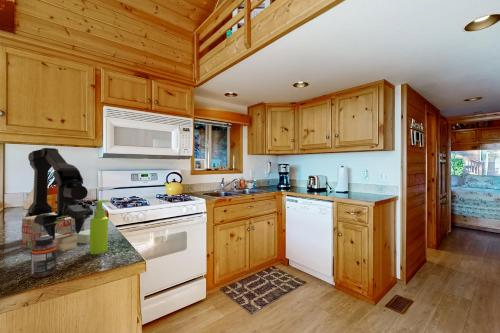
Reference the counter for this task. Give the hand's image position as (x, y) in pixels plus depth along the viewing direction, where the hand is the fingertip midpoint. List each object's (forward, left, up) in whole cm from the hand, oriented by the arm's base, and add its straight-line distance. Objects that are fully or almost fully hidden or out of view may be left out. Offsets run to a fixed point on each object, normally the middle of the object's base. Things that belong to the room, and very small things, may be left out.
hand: (65, 236), depth 93 cm
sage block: (-2, +11, -5) cm, 12 cm away
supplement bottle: (+17, -17, -5) cm, 25 cm away
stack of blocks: (-15, +5, -5) cm, 17 cm away
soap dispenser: (+15, +3, -5) cm, 16 cm away
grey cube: (-7, -1, -5) cm, 9 cm away
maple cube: (0, 0, -5) cm, 5 cm away
